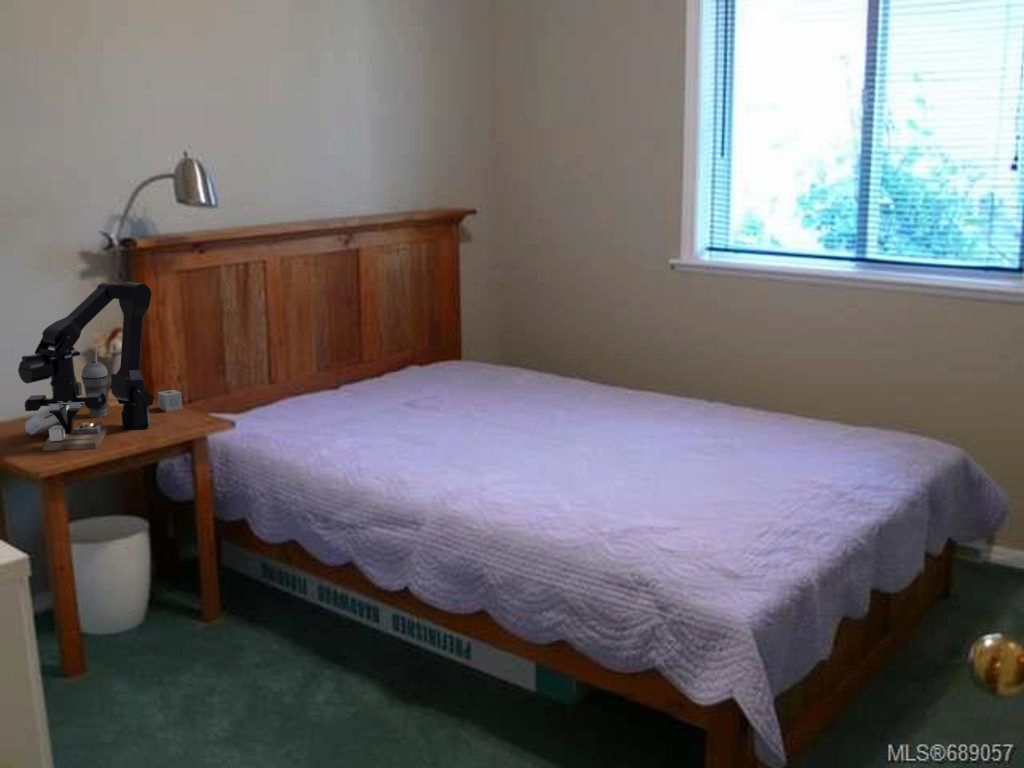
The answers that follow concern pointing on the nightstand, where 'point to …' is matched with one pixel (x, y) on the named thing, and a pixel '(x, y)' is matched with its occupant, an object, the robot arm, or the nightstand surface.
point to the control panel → (79, 438)
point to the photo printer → (42, 421)
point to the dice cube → (170, 400)
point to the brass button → (88, 425)
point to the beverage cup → (95, 383)
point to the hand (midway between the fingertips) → (69, 433)
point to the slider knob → (56, 433)
